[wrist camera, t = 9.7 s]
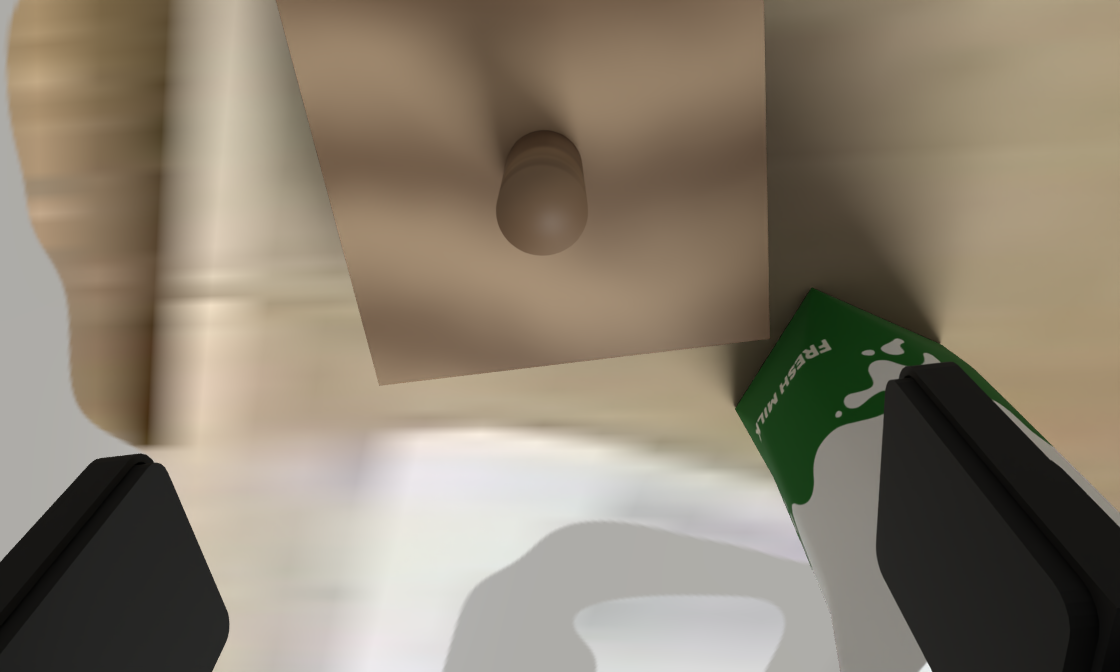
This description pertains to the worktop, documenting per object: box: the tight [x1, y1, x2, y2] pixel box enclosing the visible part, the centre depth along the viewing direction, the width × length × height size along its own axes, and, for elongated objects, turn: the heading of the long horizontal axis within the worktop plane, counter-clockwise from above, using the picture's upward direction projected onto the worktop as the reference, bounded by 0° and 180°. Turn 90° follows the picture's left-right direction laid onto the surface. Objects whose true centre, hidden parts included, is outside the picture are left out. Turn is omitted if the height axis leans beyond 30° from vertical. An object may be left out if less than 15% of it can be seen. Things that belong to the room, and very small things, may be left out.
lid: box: [276, 0, 770, 386], centre depth 25 cm, size 15×15×6 cm
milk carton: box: [735, 288, 1120, 672], centre depth 28 cm, size 9×9×20 cm
